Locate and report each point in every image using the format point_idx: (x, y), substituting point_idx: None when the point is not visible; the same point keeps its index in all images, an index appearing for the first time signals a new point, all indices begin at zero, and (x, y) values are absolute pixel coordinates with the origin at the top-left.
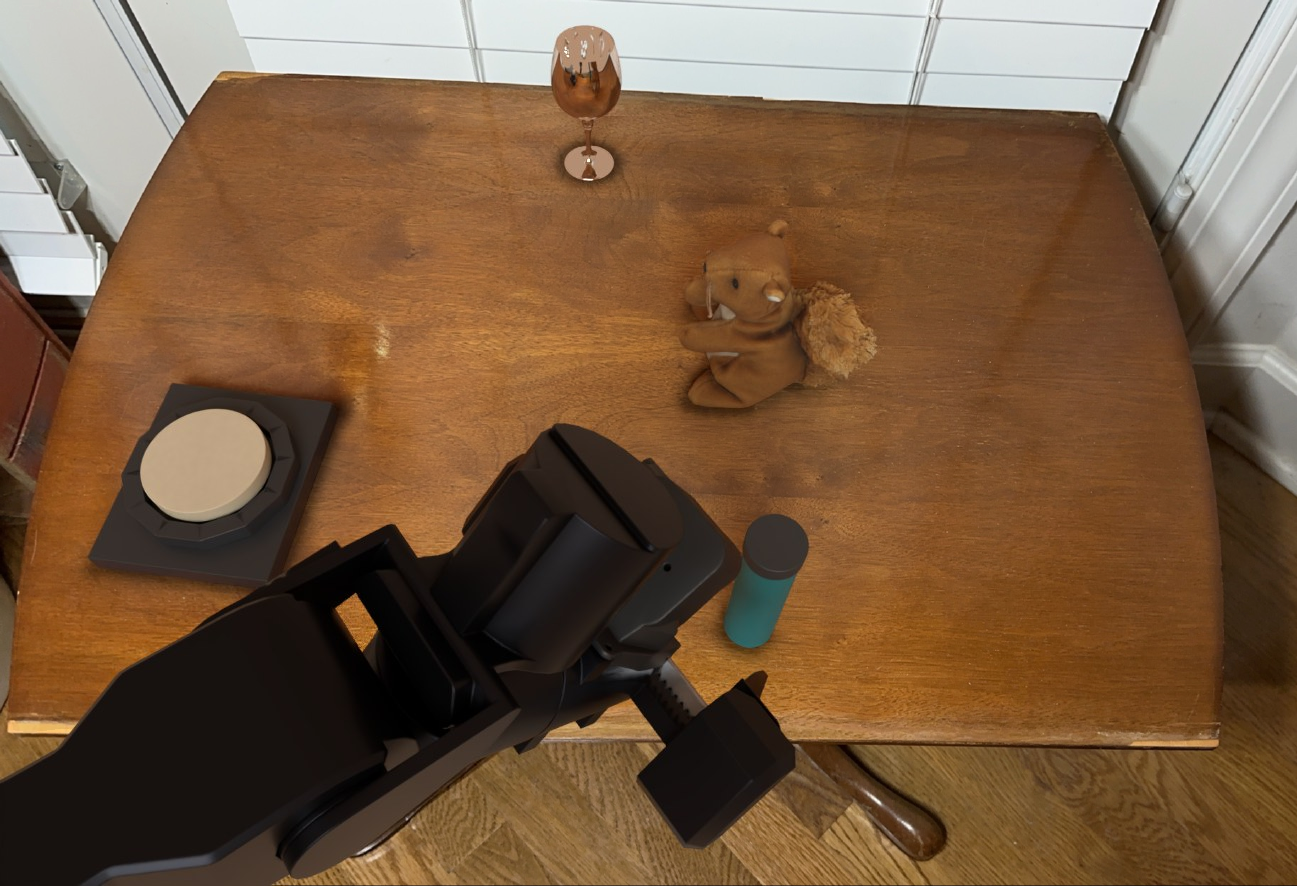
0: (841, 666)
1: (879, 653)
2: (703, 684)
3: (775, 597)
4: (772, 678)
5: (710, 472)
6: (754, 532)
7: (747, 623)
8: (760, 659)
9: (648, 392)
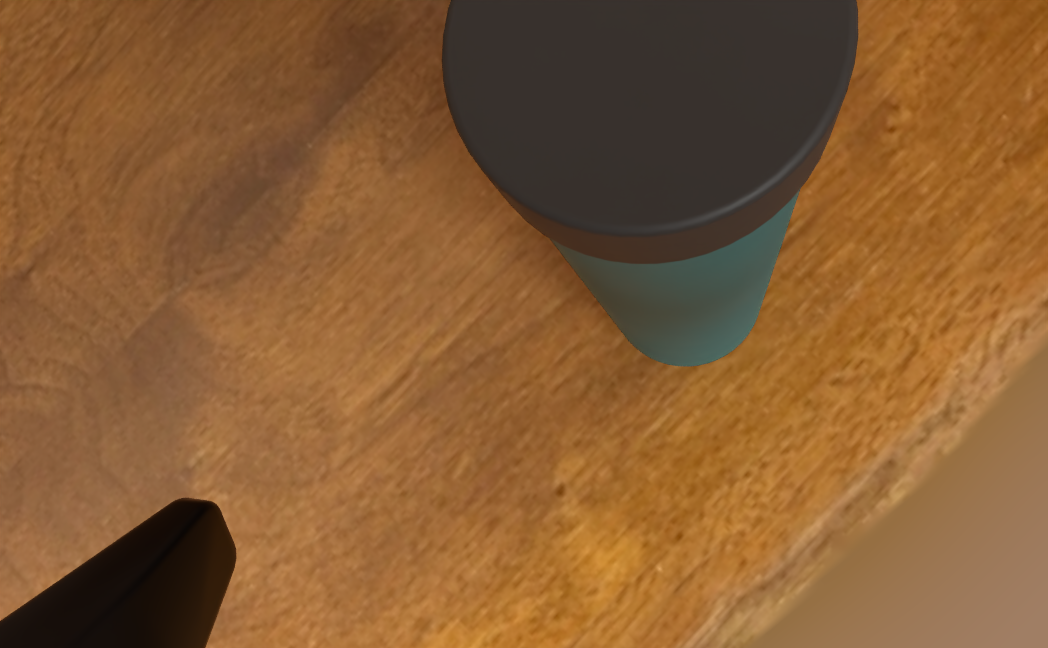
0: (950, 171)
1: (998, 61)
2: (719, 504)
3: (783, 231)
4: (840, 345)
5: (301, 64)
6: (497, 97)
7: (718, 336)
8: (776, 331)
9: (43, 40)
